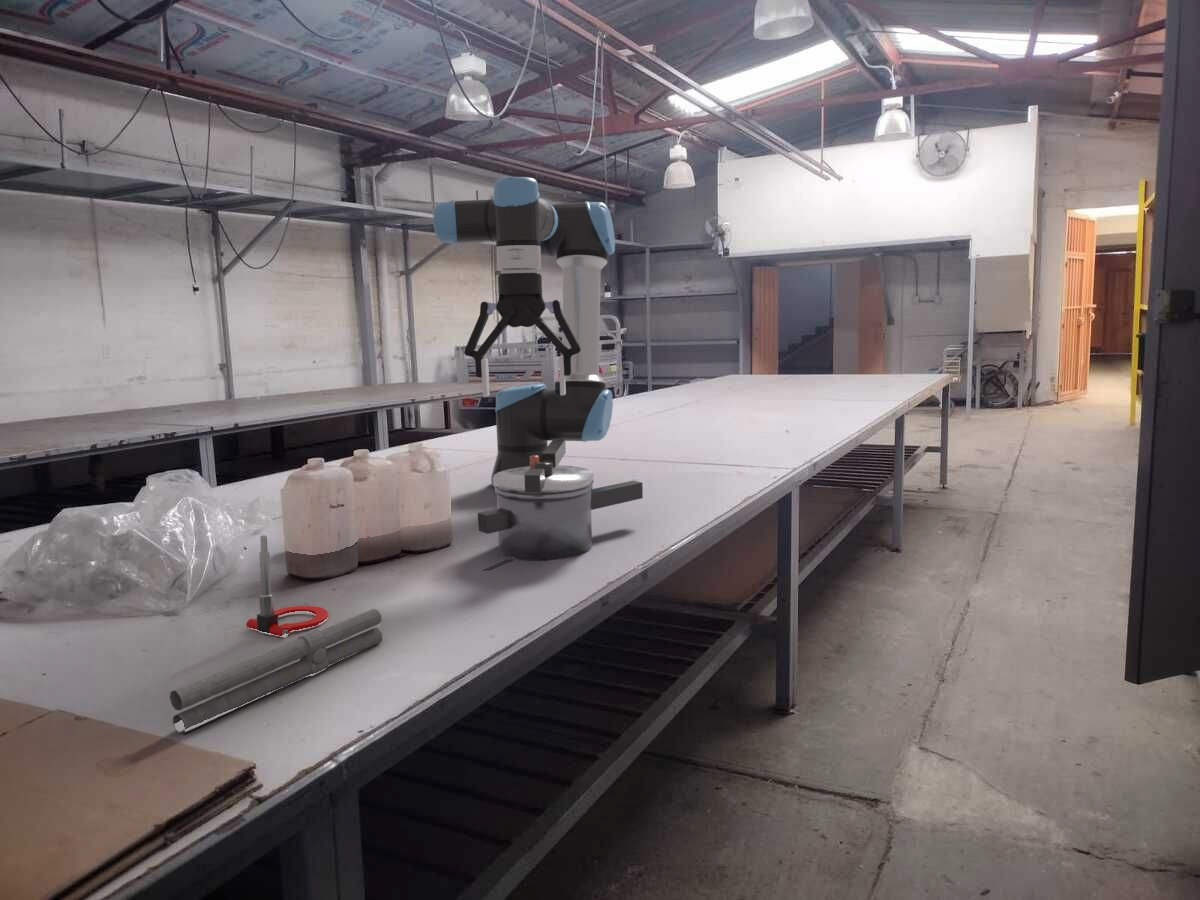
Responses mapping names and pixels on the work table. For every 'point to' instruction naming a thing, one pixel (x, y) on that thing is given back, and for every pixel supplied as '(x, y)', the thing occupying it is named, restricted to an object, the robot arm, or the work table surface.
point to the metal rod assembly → (304, 648)
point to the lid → (544, 474)
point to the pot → (551, 520)
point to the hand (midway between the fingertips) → (524, 395)
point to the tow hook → (268, 615)
